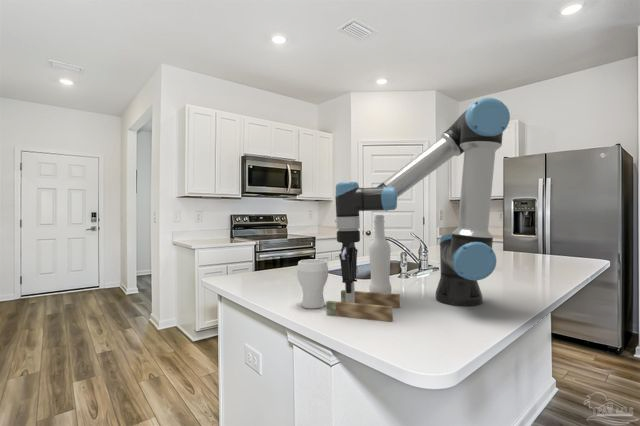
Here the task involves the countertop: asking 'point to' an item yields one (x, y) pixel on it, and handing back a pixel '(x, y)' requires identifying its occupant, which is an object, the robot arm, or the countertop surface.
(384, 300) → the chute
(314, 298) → the cup
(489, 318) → the countertop surface
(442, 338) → the countertop surface
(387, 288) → the bottle
